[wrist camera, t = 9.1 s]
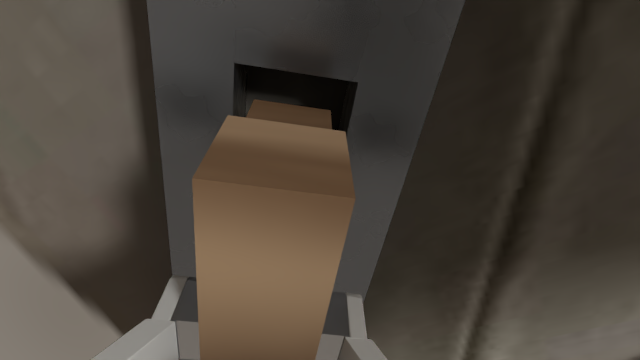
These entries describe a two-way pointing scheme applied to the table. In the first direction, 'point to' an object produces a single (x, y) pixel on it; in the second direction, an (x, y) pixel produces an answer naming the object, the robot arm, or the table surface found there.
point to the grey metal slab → (307, 58)
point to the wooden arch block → (270, 232)
